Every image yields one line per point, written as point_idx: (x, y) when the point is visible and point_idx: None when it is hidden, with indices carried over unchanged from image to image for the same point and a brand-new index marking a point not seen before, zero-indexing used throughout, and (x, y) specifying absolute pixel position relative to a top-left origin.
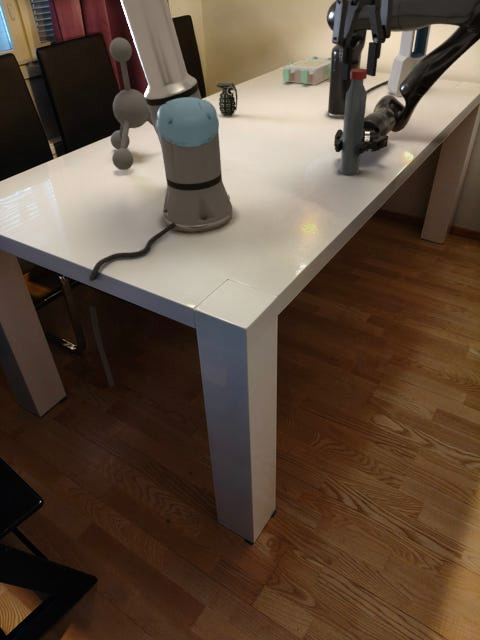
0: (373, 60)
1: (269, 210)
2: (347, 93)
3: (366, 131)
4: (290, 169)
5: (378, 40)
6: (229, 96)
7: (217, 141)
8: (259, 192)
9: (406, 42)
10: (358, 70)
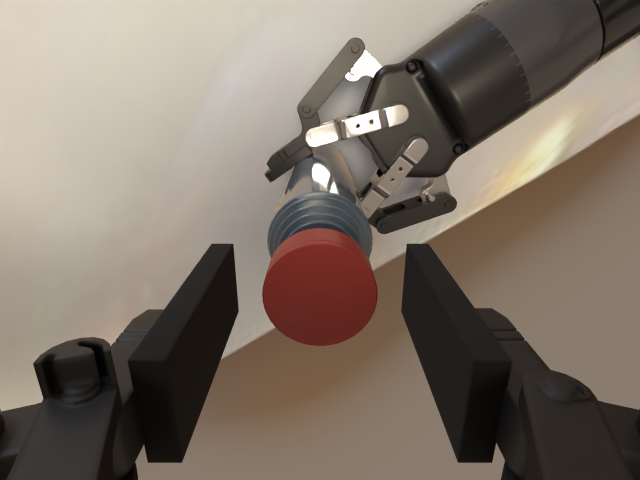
0: (423, 356)
1: (36, 276)
2: (269, 237)
3: (408, 153)
4: (169, 59)
5: (504, 475)
6: None
7: None
8: (33, 174)
9: None
10: (315, 301)
